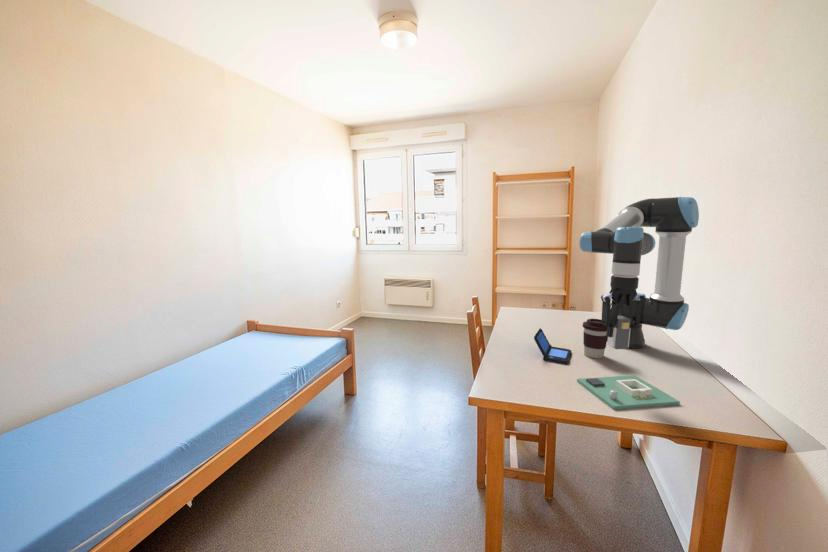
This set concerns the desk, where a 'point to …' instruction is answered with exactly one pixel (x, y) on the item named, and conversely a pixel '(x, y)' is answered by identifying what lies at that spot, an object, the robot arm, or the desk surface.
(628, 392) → the header
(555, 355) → the handheld game console
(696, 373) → the desk surface
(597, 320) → the coffee cup
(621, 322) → the plug
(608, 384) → the board
